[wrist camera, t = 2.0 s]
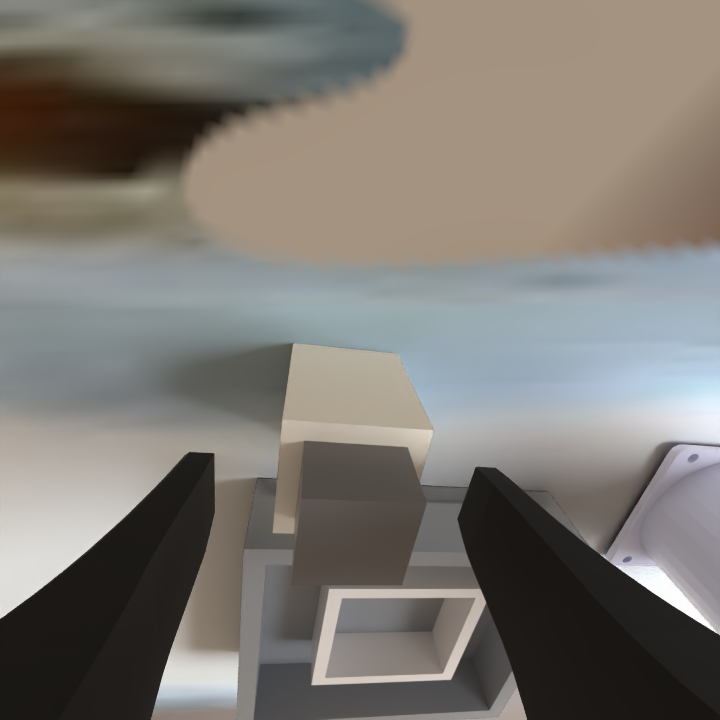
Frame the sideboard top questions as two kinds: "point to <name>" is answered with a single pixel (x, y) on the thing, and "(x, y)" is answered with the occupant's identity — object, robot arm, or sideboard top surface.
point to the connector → (350, 466)
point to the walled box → (371, 630)
